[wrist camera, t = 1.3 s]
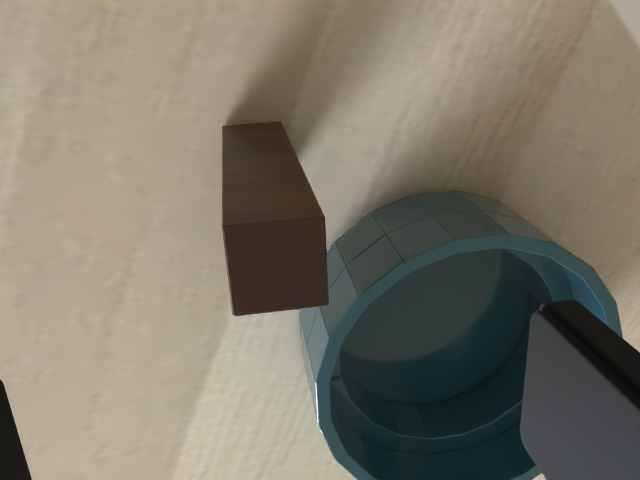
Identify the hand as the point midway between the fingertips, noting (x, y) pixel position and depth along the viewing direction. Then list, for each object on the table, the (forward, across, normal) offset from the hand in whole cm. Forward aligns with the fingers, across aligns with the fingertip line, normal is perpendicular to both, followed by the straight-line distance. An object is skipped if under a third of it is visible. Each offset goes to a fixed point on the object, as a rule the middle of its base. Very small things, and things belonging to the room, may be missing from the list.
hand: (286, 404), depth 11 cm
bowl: (+17, -8, +8) cm, 21 cm away
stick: (+17, 0, -1) cm, 17 cm away
